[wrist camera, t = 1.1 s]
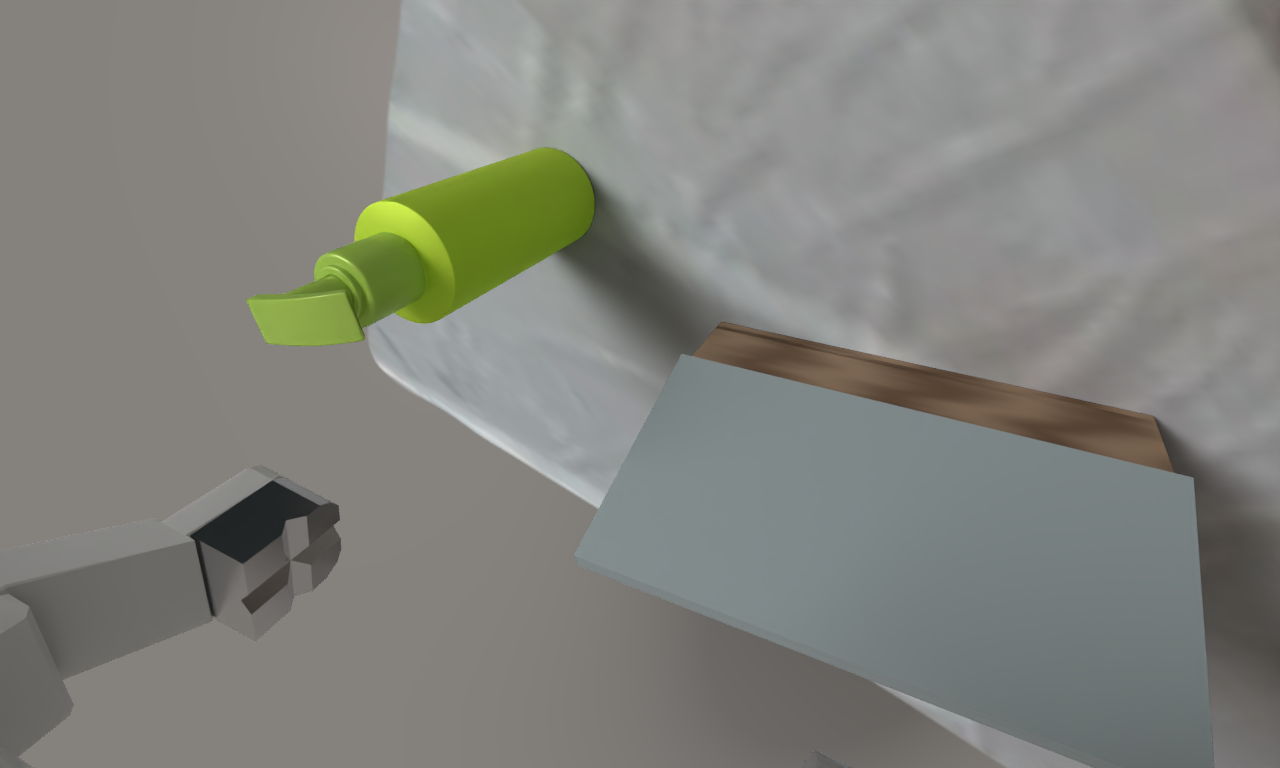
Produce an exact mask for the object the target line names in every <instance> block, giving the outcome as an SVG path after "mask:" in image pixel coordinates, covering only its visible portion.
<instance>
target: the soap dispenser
mask: <svg viewBox="0 0 1280 768" xmlns="http://www.w3.org/2000/svg"><path fill="white" fill-rule="evenodd" d="M594 210H595V199H594V193H593V189H592V186H591V183H590V180H589V178H588V176H587V174H586V173H585V171H584V170H583V168H582V167H581V166H580V165H579V163H578V162H577V161H576V160H574V159H573V158H572V157H571V156H569V155H568V154H566V153H565V152H563V151H560V150H557V149H554V148H539V149H535V150H532V151H529V152H526V153H523V154H520V155H517V156H514V157H511V158H508V159H505V160H502V161H499V162H496V163H493V164H490V165H487V166H484V167H481V168H478V169H475V170H472V171H469V172H466V173H463V174H460V175H457V176H454V177H451V178H448V179H445V180H442V181H439V182H436V183H433V184H430V185H427V186H424V187H421V188H417V189H414V190H411V191H408V192H405V193H402V194H399V195H396V196H393V197H390V198H387V199H384V200H381V201H379V202H375V203H373V204H371V205H370V206H368V207H367V208H366V209H365V210H364V211H363V212H362V213H361V215H360V217H359V219H358V222H357V224H356V229H355V242H354V243H351V244H349V245H346V246H344V247H341V248H338V249H336V250H333V251H330V252H328V253H326V254H324V255H322V256H321V257H320V258H319V259H318V261H317V263H316V266H315V270H314V279H315V281H314V282H312V283H309V284H307V285H304V286H302V287H299V288H297V289H295V290H292V291H290V292H287V293H285V294H261V295H256V296H254V297H251V298H249V299H247V303H248V305H249V308H250V310H251V312H252V314H253V316H254V318H255V320H256V322H257V324H258V327H259V328H260V331H261V333H262V335H263V337H264V339H265V341H266V343H267V344H275V345H276V344H277V345H289V346H322V345H334V344H343V343H351V342H359V341H363V340H364V339H365V335H364V332H363V330H362V328H363V327H367V326H369V325H371V324H373V323H375V322H377V321H379V320H381V319H383V318H385V317H386V316H388V315H390V314H392V313H396V314H397V315H399V316H401V317H402V318H404V319H407V320H409V321H412V322H416V323H432V322H435V321H438V320H440V319H441V318H443V317H445V316H447V315H448V314H450V313H452V312H453V311H455V310H457V309H459V308H460V307H462V306H464V305H466V304H467V303H469V302H471V301H472V300H474V299H476V298H478V297H479V296H481V295H483V294H485V293H486V292H488V291H490V290H491V289H493V288H495V287H497V286H498V285H500V284H502V283H504V282H505V281H507V280H509V279H511V278H512V277H514V276H516V275H517V274H519V273H521V272H523V271H524V270H526V269H528V268H530V267H531V266H533V265H535V264H536V263H538V262H540V261H542V260H543V259H545V258H547V257H549V256H550V255H552V254H554V253H555V252H557V251H559V250H561V249H562V248H564V247H566V246H568V245H569V244H571V243H573V242H574V241H576V240H578V239H579V238H581V237H582V236H583V235H584V234H585V233H586V232H587V230H588V229H589V227H590V225H591V223H592V220H593V216H594Z"/></svg>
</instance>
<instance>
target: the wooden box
mask: <svg viewBox="0 0 1280 768" xmlns="http://www.w3.org/2000/svg"><path fill="white" fill-rule="evenodd" d="M693 356H694V357H698V358H702V359H706V360H710V361H714V362H718V363H722V364H727V365H731V366H735V367H739V368H743V369H747V370H751V371H755V372H760V373H764V374H768V375H772V376H776V377H780V378H784V379H788V380H793V381H797V382H801V383H805V384H809V385H813V386H817V387H822V388H826V389H830V390H834V391H838V392H842V393H846V394H850V395H855V396H859V397H863V398H867V399H871V400H875V401H879V402H883V403H888V404H892V405H896V406H900V407H904V408H908V409H912V410H916V411H921V412H925V413H929V414H933V415H937V416H941V417H945V418H949V419H954V420H958V421H962V422H966V423H970V424H974V425H978V426H982V427H987V428H991V429H995V430H999V431H1003V432H1007V433H1011V434H1015V435H1020V436H1024V437H1028V438H1032V439H1036V440H1040V441H1044V442H1048V443H1053V444H1057V445H1061V446H1065V447H1069V448H1073V449H1077V450H1082V451H1086V452H1090V453H1094V454H1098V455H1102V456H1106V457H1110V458H1115V459H1119V460H1123V461H1127V462H1131V463H1135V464H1139V465H1143V466H1148V467H1152V468H1156V469H1160V470H1164V471H1168V472H1172V473H1174V470H1173V468H1172V465H1171V462H1170V459H1169V457H1168V454H1167V451H1166V449H1165V446H1164V443H1163V440H1162V438H1161V435H1160V432H1159V429H1158V427H1157V424H1156V421H1155V419H1154V416H1151V415H1146V414H1142V413H1137V412H1132V411H1128V410H1123V409H1119V408H1114V407H1110V406H1105V405H1100V404H1096V403H1091V402H1087V401H1082V400H1078V399H1073V398H1068V397H1064V396H1059V395H1055V394H1050V393H1045V392H1041V391H1036V390H1032V389H1027V388H1023V387H1018V386H1013V385H1009V384H1004V383H1000V382H995V381H991V380H986V379H981V378H977V377H972V376H968V375H963V374H958V373H954V372H949V371H945V370H940V369H936V368H931V367H926V366H922V365H917V364H913V363H908V362H904V361H899V360H894V359H890V358H885V357H881V356H876V355H872V354H867V353H862V352H858V351H853V350H849V349H844V348H839V347H835V346H830V345H826V344H821V343H817V342H812V341H807V340H803V339H798V338H794V337H789V336H785V335H780V334H775V333H771V332H766V331H762V330H757V329H752V328H748V327H743V326H739V325H734V324H730V323H725V322H721V323H720V324H719V325H718V326H717V327H716V329H715V330H714V331H713V332H712V333H711V335H710V336H709V337H708V338H707V339H706V340H705V342H704V343H703V344H702V345H701V346H700V347H699V349H698V350H697V351H696V352H695V353H694V354H693Z"/></svg>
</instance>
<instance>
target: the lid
mask: <svg viewBox="0 0 1280 768" xmlns="http://www.w3.org/2000/svg"><path fill="white" fill-rule="evenodd" d="M574 557H575V559H576V561H577V564H578V566H580V567H582V568H585V569H588V570H590V571H593V572H595V573H598V574H600V575H603V576H606V577H608V578H610V579H613V580H616V581H618V582H621V583H623V584H626V585H628V586H631V587H634V588H636V589H639V590H641V591H644V592H646V593H649V594H651V595H654V596H656V597H659V598H662V599H664V600H667V601H670V602H672V603H674V604H677V605H680V606H682V607H685V608H687V609H690V610H692V611H695V612H697V613H700V614H703V615H705V616H708V617H710V618H713V619H715V620H718V621H721V622H723V623H726V624H728V625H731V626H733V627H736V628H738V629H741V630H743V631H746V632H749V633H751V634H754V635H756V636H759V637H762V638H764V639H767V640H769V641H772V642H774V643H777V644H779V645H782V646H785V647H787V648H789V649H792V650H795V651H797V652H800V653H802V654H805V655H808V656H810V657H813V658H815V659H818V660H820V661H823V662H825V663H828V664H830V665H833V666H836V667H838V668H841V669H843V670H846V671H848V672H851V673H853V674H856V675H859V676H861V677H864V678H866V679H869V680H871V681H874V682H876V683H879V684H882V685H884V686H887V687H889V688H892V689H894V690H897V691H899V692H902V693H905V694H907V695H910V696H912V697H915V698H917V699H920V700H923V701H925V702H928V703H930V704H933V705H935V706H938V707H940V708H943V709H946V710H948V711H951V712H953V713H956V714H958V715H961V716H963V717H966V718H969V719H971V720H974V721H976V722H979V723H981V724H984V725H986V726H989V727H992V728H994V729H997V730H999V731H1002V732H1004V733H1007V734H1009V735H1012V736H1015V737H1017V738H1020V739H1022V740H1025V741H1027V742H1030V743H1032V744H1035V745H1038V746H1040V747H1043V748H1045V749H1048V750H1050V751H1053V752H1056V753H1058V754H1061V755H1063V756H1066V757H1068V758H1071V759H1073V760H1076V761H1079V762H1081V763H1084V764H1086V765H1089V766H1091V767H1094V768H1214V754H1213V740H1212V726H1211V712H1210V698H1209V684H1208V671H1207V657H1206V643H1205V629H1204V615H1203V601H1202V587H1201V574H1200V560H1199V546H1198V532H1197V518H1196V504H1195V490H1194V478H1193V477H1189V476H1185V475H1181V474H1176V473H1172V472H1168V471H1164V470H1160V469H1156V468H1152V467H1148V466H1143V465H1139V464H1135V463H1131V462H1127V461H1123V460H1119V459H1115V458H1110V457H1106V456H1102V455H1098V454H1094V453H1090V452H1086V451H1082V450H1077V449H1073V448H1069V447H1065V446H1061V445H1057V444H1053V443H1048V442H1044V441H1040V440H1036V439H1032V438H1028V437H1024V436H1020V435H1015V434H1011V433H1007V432H1003V431H999V430H995V429H991V428H987V427H982V426H978V425H974V424H970V423H966V422H962V421H958V420H954V419H949V418H945V417H941V416H937V415H933V414H929V413H925V412H921V411H916V410H912V409H908V408H904V407H900V406H896V405H892V404H888V403H883V402H879V401H875V400H871V399H867V398H863V397H859V396H855V395H850V394H846V393H842V392H838V391H834V390H830V389H826V388H822V387H817V386H813V385H809V384H805V383H801V382H797V381H793V380H788V379H784V378H780V377H776V376H772V375H768V374H764V373H760V372H755V371H751V370H747V369H743V368H739V367H735V366H731V365H727V364H722V363H718V362H714V361H710V360H706V359H702V358H698V357H694V356H689V355H685V354H681V356H680V358H679V360H678V362H677V364H676V365H675V367H674V369H673V371H672V373H671V375H670V377H669V379H668V380H667V382H666V384H665V386H664V388H663V390H662V392H661V394H660V395H659V397H658V399H657V401H656V403H655V405H654V407H653V408H652V410H651V412H650V414H649V416H648V418H647V420H646V422H645V423H644V425H643V427H642V429H641V431H640V433H639V435H638V437H637V438H636V440H635V442H634V444H633V446H632V448H631V450H630V451H629V453H628V455H627V457H626V459H625V461H624V463H623V465H622V466H621V468H620V470H619V472H618V474H617V476H616V478H615V480H614V481H613V483H612V485H611V487H610V489H609V491H608V493H607V495H606V496H605V498H604V500H603V502H602V504H601V506H600V508H599V509H598V512H597V513H596V515H595V517H594V519H593V521H592V523H591V525H590V526H589V528H588V530H587V532H586V534H585V536H584V538H583V539H582V541H581V543H580V545H579V547H578V549H577V551H576V553H575V554H574Z"/></svg>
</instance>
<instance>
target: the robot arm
mask: <svg viewBox="0 0 1280 768" xmlns="http://www.w3.org/2000/svg"><path fill="white" fill-rule="evenodd" d="M339 520H340V516H339V506H338V505H337V504H335V503H333V502H331V501H329V500H327V499H325V498H324V497H322V496H320V495H318V494H316V493H314V492H312V491H310V490H308V489H307V488H305V487H303V486H301V485H299V484H297V483H295V482H293V481H291V480H290V479H288V478H287V477H285V476H283V475H281V474H279V473H277V472H275V471H273V470H271V469H269V468H267V467H265V466H263V465H258V466H253V467H249V468H247V469H245V470H244V471H242V472H241V473H239V474H237V475H236V476H234V477H233V478H231V479H230V480H228V481H226V482H225V483H223V484H221V485H220V486H218V487H217V488H215V489H213V490H212V491H210V492H209V493H207V494H205V495H204V496H202V497H201V498H199V499H197V500H196V501H194V502H193V503H191V504H189V505H188V506H186V507H185V508H183V509H182V510H180V511H178V512H177V513H175V514H173V515H172V516H170V517H169V518H167V519H165V520H164V521H161V520H159V519H156V518H152V519H147V520H142V521H138V522H133V523H128V524H124V525H119V526H114V527H109V528H104V529H100V530H95V531H91V532H86V533H81V534H76V535H71V536H67V537H62V538H57V539H52V540H48V541H43V542H38V543H34V544H29V545H24V546H19V547H14V548H10V549H5V550H0V768H33V767H32V766H31V765H29V764H28V763H26V762H25V761H23V760H22V759H21V758H19V756H20V755H21V754H22V753H23V752H25V751H26V750H27V749H29V748H30V747H31V746H32V745H34V744H35V743H36V742H37V741H39V740H40V739H41V738H42V737H43V736H45V735H46V734H47V733H48V732H50V731H51V730H52V729H53V728H55V727H56V726H57V725H58V724H60V723H61V722H62V721H63V720H65V719H66V718H67V717H68V716H70V714H71V711H72V708H73V705H74V704H73V702H72V700H71V697H70V695H69V693H68V691H67V689H66V686H65V684H64V682H63V680H64V679H66V678H68V677H71V676H74V675H76V674H79V673H81V672H84V671H87V670H89V669H92V668H94V667H97V666H99V665H102V664H104V663H107V662H109V661H112V660H115V659H117V658H120V657H122V656H125V655H127V654H130V653H132V652H135V651H138V650H140V649H142V648H145V647H148V646H150V645H153V644H155V643H158V642H160V641H163V640H166V639H168V638H171V637H173V636H176V635H178V634H181V633H184V632H186V631H189V630H191V629H194V628H196V627H199V626H201V625H204V624H206V623H209V622H211V621H212V618H214V619H216V620H218V621H219V622H222V623H223V624H225V625H227V626H229V627H230V628H232V629H234V630H236V631H238V632H240V633H242V634H243V635H245V636H247V637H249V638H251V639H253V640H254V641H257V640H258V639H259V638H260V637H261V636H262V635H263V634H264V633H266V632H267V631H268V630H269V629H270V628H271V627H272V626H274V625H275V624H276V623H277V622H278V621H279V620H280V619H281V618H282V617H284V616H285V615H286V614H287V613H288V612H289V611H290V610H291V607H292V603H293V599H294V596H297V595H300V594H303V593H307V592H310V591H313V590H314V589H315V588H316V587H317V586H318V585H319V584H320V583H321V582H323V581H324V579H326V578H327V577H328V575H329V573H330V572H331V571H332V569H333V567H334V566H335V564H336V563H337V561H338V558H339V554H340V551H341V538H340V537H339V535H338V533H337V532H336V530H335V528H334V526H333V525H334V524H336V523H337V522H338V521H339ZM803 768H851V767H849V766H847V765H845V764H843V763H841V762H839V761H837V760H835V759H833V758H831V757H829V756H827V755H825V754H823V753H821V752H819V751H817V750H815V751H813V752H811V753H810V754H809V756H808V757H807V758H806V760H805V761H804V765H803Z"/></svg>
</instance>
